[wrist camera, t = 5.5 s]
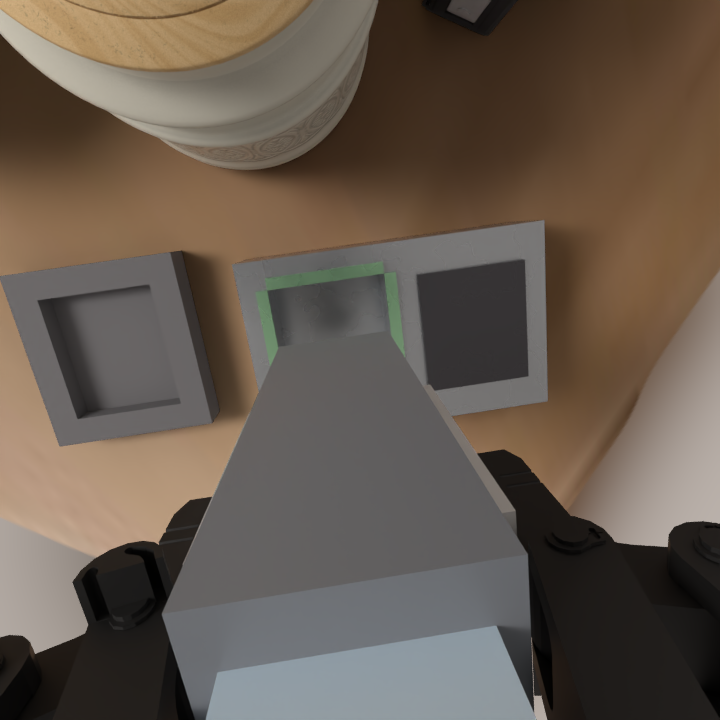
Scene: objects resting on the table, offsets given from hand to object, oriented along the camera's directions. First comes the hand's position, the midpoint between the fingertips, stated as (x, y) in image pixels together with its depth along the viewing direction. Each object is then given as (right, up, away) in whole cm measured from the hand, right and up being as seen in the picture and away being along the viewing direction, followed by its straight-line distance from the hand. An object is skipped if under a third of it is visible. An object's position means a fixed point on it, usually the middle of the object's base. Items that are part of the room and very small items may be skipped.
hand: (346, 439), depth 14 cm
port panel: (+2, +5, +14) cm, 15 cm away
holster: (-14, +3, +13) cm, 19 cm away
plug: (0, +1, +3) cm, 3 cm away
